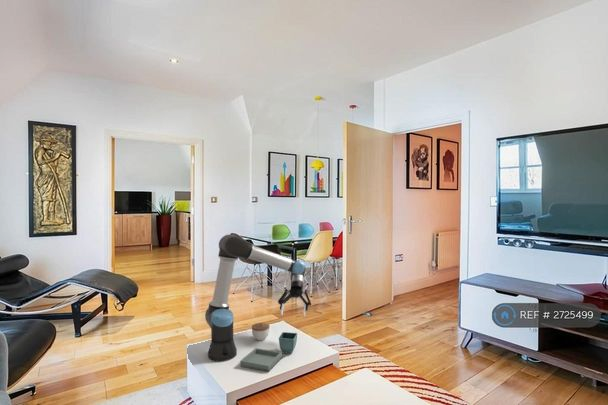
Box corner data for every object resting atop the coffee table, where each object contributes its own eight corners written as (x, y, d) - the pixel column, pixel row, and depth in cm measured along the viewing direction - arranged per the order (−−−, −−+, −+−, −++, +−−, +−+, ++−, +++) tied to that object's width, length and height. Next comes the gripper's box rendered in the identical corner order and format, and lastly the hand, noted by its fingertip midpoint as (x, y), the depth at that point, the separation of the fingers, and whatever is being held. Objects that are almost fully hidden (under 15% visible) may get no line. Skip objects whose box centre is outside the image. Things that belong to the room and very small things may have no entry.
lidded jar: (273, 337, 202) (273, 322, 202) (261, 343, 193) (261, 327, 193) (259, 333, 208) (259, 319, 208) (248, 339, 199) (248, 324, 199)
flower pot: (294, 355, 177) (294, 339, 177) (278, 354, 179) (278, 338, 179) (297, 348, 186) (297, 333, 186) (282, 347, 187) (282, 331, 187)
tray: (240, 366, 165) (240, 360, 165) (255, 353, 180) (255, 347, 180) (268, 372, 160) (268, 365, 160) (282, 357, 175) (282, 352, 175)
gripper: (317, 287, 208) (314, 319, 193) (279, 286, 213) (273, 317, 198) (316, 280, 203) (312, 313, 188) (277, 279, 208) (270, 311, 193)
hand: (292, 315), depth 193 cm, fingers open, 13 cm apart
